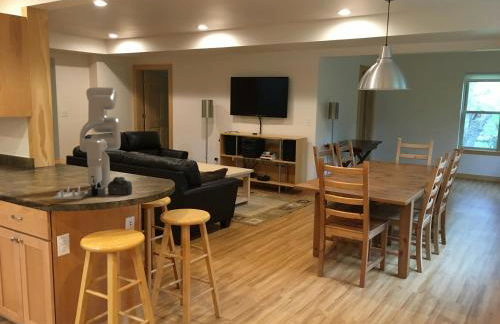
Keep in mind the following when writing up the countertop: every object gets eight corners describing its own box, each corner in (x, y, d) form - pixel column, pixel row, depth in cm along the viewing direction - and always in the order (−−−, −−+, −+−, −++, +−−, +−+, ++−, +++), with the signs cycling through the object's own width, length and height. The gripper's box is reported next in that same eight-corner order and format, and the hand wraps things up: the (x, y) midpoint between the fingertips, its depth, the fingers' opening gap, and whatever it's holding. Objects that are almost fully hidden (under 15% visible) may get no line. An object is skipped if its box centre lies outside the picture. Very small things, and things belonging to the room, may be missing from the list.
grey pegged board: (61, 194, 234) (61, 186, 233) (88, 193, 235) (88, 186, 234) (52, 199, 222) (51, 191, 222) (80, 199, 223) (80, 190, 222)
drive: (88, 194, 233) (88, 187, 233) (105, 193, 235) (105, 186, 235) (87, 196, 228) (87, 189, 228) (104, 195, 231) (104, 188, 230)
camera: (133, 191, 241) (132, 174, 240) (131, 195, 231) (130, 178, 230) (109, 192, 239) (109, 175, 238) (106, 196, 229) (105, 178, 228)
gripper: (93, 160, 237) (94, 191, 240) (82, 165, 220) (84, 198, 223) (106, 160, 238) (108, 190, 240) (96, 164, 221) (98, 198, 223)
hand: (96, 194), depth 232 cm, fingers closed on drive, 5 cm apart
